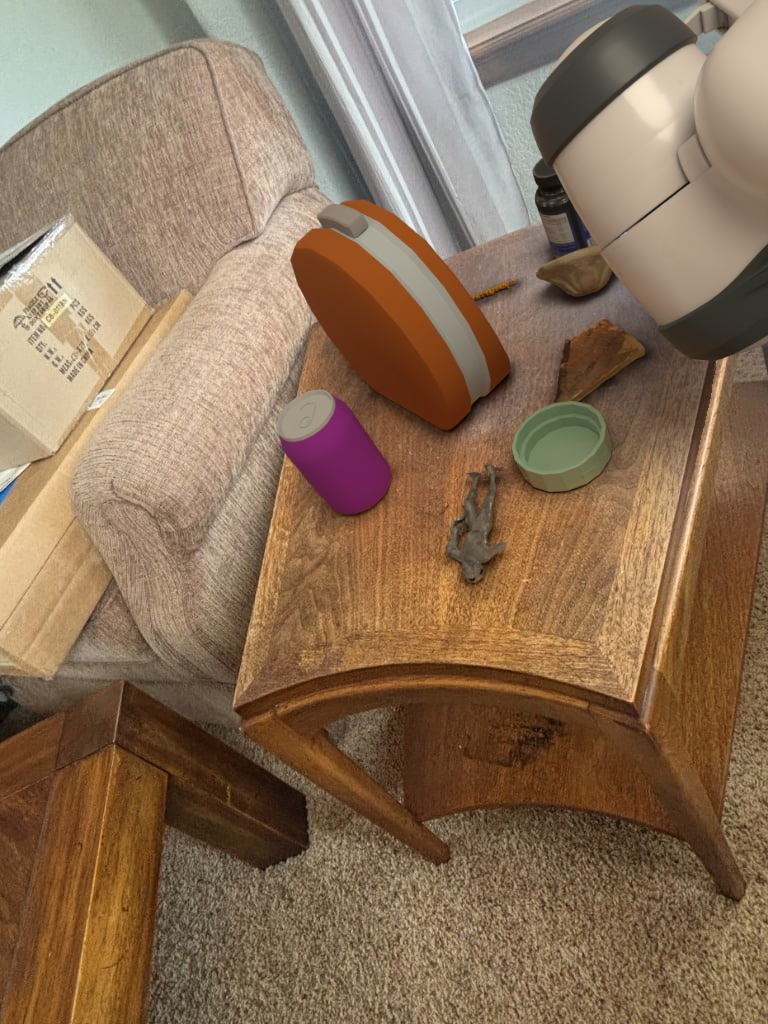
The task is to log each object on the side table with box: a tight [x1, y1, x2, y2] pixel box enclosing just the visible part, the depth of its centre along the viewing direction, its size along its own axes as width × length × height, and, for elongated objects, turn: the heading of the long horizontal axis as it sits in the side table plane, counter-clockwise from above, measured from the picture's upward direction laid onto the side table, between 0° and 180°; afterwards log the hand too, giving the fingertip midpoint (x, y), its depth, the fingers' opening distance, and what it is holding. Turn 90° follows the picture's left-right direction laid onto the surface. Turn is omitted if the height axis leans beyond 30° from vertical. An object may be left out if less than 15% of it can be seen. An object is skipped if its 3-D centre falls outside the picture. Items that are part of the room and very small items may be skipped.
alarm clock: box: [289, 198, 512, 431], centre depth 74 cm, size 22×10×23 cm, turn 39°
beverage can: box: [276, 389, 392, 515], centre depth 73 cm, size 8×8×12 cm
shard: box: [553, 317, 646, 404], centre depth 73 cm, size 11×8×2 cm
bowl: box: [511, 401, 613, 493], centre depth 67 cm, size 8×8×3 cm
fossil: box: [535, 236, 621, 297], centre depth 78 cm, size 9×4×10 cm
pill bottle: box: [532, 157, 597, 260], centre depth 80 cm, size 6×6×11 cm
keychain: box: [471, 279, 517, 301], centre depth 87 cm, size 8×1×1 cm
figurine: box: [445, 462, 507, 584], centre depth 66 cm, size 6×4×12 cm
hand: (683, 57), depth 69 cm, fingers open, 7 cm apart
